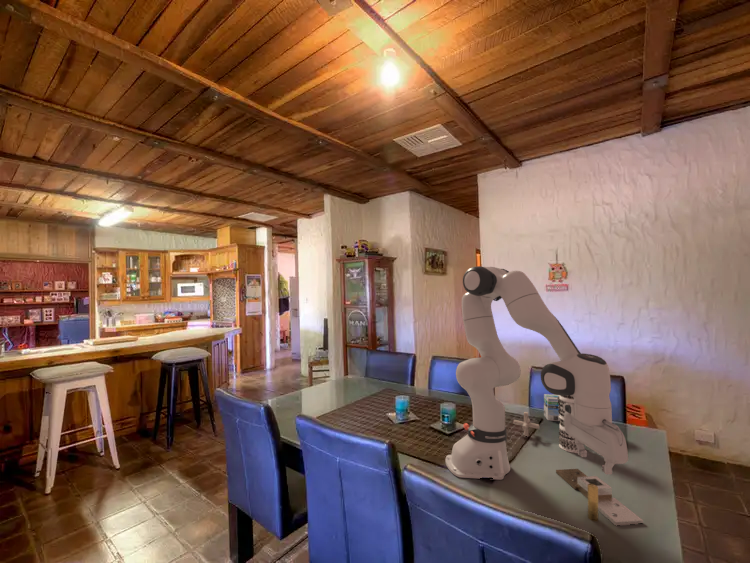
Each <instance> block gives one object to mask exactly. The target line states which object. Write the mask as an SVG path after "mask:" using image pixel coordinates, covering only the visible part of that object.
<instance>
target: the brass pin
mask: <svg viewBox="0 0 750 563" xmlns="http://www.w3.org/2000/svg"><path fill="white" fill-rule="evenodd" d="M587 519H588V520H590V521H591V522H595V523H596V522H599V511H598V487H597V486H596V485H594V484H588V498H587Z"/></svg>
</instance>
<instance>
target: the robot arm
mask: <svg viewBox="0 0 750 563" xmlns="http://www.w3.org/2000/svg"><path fill="white" fill-rule="evenodd" d="M462 285H463V288H464V290H465V291H466V292H465V293H464V294H463V295H462V296H461V317H462V322H463V327H464V328H463V329H464V334H465V337H466V341H467V343H468V344H469V345H470V346H471V347H474V348H475V350H477V351H478V353H479V355H480V357H473V358H469V359H465V360H463V361H461V362H459V363H458V365H457V366H456V369H455V378H456V381H457V382H458V384H459V386H461V388H462V389H464V390H465V391H466V392H467V394H468V396H469V397H470V400H471V405H472V423H471V424H470V425H469V423H467V422H465V423H463V428H464V429H465V431H467V434H466V435H465V436H463V437H462V438H461V439H459V440H458V441H457V442H455V443H454V444H453V446H452V450H451V454H448V455H446V457H445V462H444V463H445V465H446V467H447V469H448V470H449V472H450V473H452V475H454V476H456V477H457V478H465V479H480V478H482V477H492V478H493V479H492V480H498V481H499V480H500V481H501V480H503V479H504V478H505V476H506V474H508V473H510V471H511V465H510V462H509V458H508V452H507V442H508V441H507V439H508V438H507V436H508V435H507V434H508V433H507V427H506V407H505V405H504V403H503V402H502V401H501V400H499V399H498V398H496V396H495V390H494V389H495V388H500V387H504V386H505V387H506V386H509V385H511V384H514V383H516V382H518V380H519V379H520V378H521V366H520V364H519V362H518V360H517V359H516V358H514V357H513V356H512V355H510V354H509V353H508V352H507V350H506V349H505V348H504V346H503V344H502V343H501V341H500V339H499V336H498V332H497V327H496V323H495V320H494V314H493V311H492V303H493V301H494V302H499V301H500V300H503V303H504V304H505V307H506V309H507V311H508V313H509V315H510V317H511V319H512V320H513V322H515V324H516V325H517V326H520V327H522V328H524V329H527V330H530V331H533V332H536V333H538V334H540V335H541V336H542V337H544V339H546V340H547V341H548V342H549V344H550V345H551V347H552V349H553V350H554V352H555V353H556V355H557V357H558V358H559V360H560V361H554V362H550V363H548V364H545V365H544V366H543V367H542V369H541V371H540V382H541V383H542V386H543V388H544V389H545V390H546V391H547V392H549V393H550V394H551V395H562V396H572V397H573V398H574V403H567V404H563V409H564V411H565V413H564V426H565V430H566V433H567V434H568V435H570V436H571V437H573V438H575V444H576V446H577V449H578V453H577V455H578V456H579V457H582V458H587V457H588V451H587V450H586V448H585V446H586V447H587V448H589V449H590V450H592V451H593V452H595V453H597V454H598V455H600V456H601V457H603V461H604V462H605V463H604V464H601V472H602V473H604V474H606V476H607V475H612V474H613V467H614V466H615V465H621V464H623V465H624V464H626V463H627V462H628V461H629V455H628V454H629V453H628V445H627V440H626V437H625V435H624V433H623V431H622V429H621V428H620V427H619V426H618V425H617V424H615V423H613V416H612V412H613V411H612V402H611V400H610V394H611V390H612V386H611V373H610V368H609V365H608V363H607V361H606V360H605V359H603V358H602V357H600V356H598V355H595V354H591V353H590V354H589V353H583V352H582V353H581V352H580V350H579V348H578V347H577V345H576V344H575V343H574V341H573V340H572V338H571V337H570V335H569V334H568V332H567V330H566V329H565V328H564V326H563V325H562V324H561V322H560V320H558V318H557V317H556V316H555V315H554V314H553V313H552V311H551V310H549V308H548V307H547V305H546V304H545V302H544V300H543V299H542V297H541V295H540V294H539V291H538V290H537V289H536V286H535V285H534V284H533V282H532V280H531V279H530V278H529V277H528V276H527V275H526V274H525V273H524V272H523V271H520V270H511V271H509V270H507V269H506V268H505V269H504V268H498V267H495V266H481V265H479V266H478V265H477V266H473V267H470V268H468V269H467V270H466V271H465V272H464V274H463V277H462Z"/></svg>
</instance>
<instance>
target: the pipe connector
mask: <svg viewBox="0 0 750 563" xmlns="http://www.w3.org/2000/svg"><path fill="white" fill-rule="evenodd" d="M513 425H517V426H520V427H521V426H522V427H521V428H522V430H523V436H524V435H525V436H527V437H526V438H528V437H529V431H530V430H529V428H530V429H531V428H533V429H536V430H539V429H540V424H537V423H534V422H533V423H532V422H531V419H530V418H529V412H528V411H524V412H523V421H522V420H517V419H513ZM525 436H524V437H525Z"/></svg>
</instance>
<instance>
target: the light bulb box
mask: <svg viewBox="0 0 750 563" xmlns="http://www.w3.org/2000/svg"><path fill="white" fill-rule="evenodd" d="M558 396H559V395H554V394H552V393H550V394H549V393H544V394H543V417H544V418H546V420H547V421H552V422H553V421H554V422H560V418H559V413H558V410H559V408H558V406H559V405H558V399H557V398H558ZM559 399H560V398H559Z"/></svg>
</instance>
